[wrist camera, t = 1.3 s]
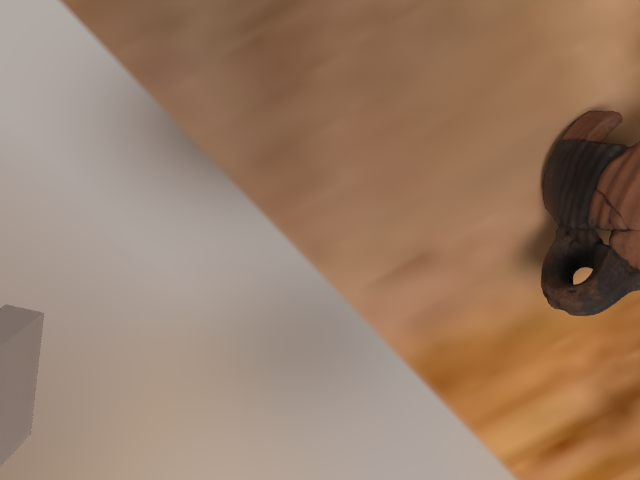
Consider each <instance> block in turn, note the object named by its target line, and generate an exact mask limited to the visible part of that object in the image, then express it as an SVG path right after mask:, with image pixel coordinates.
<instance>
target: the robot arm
mask: <svg viewBox="0 0 640 480" xmlns="http://www.w3.org/2000/svg"><path fill="white" fill-rule="evenodd" d="M43 318H44V313H42V312H37V311H33V310H28V309H24V308H20V307H15V306H11V305H4V306H3V307H1V308H0V467H1V466H2V465H3V464H4V463H5V462H6V460H7V459H8V458H9V457H10V456H11V455H12V454H13V453H14V452H15V451H16V449H17V448H18V447H19V446H20V445H21V444H22V443H23V442H24V441H25V440H26V438H27V437H28V436H29V435H30V434H31V428H32V419H33V409H34V400H35V391H36V382H37V373H38V363H39V355H40V346H41V337H42V336H41V335H42V328H43Z"/></svg>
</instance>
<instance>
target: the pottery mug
mask: <svg viewBox="0 0 640 480" xmlns="http://www.w3.org/2000/svg"><path fill="white" fill-rule="evenodd" d="M622 120H623V118H622V115H621V114H620V113H618V112H614V111H608V112H604V111H598V112H597V111H590V112H587V113H586V114H585V115H583V116H582V117H580V118H579V119H578V120H577V121H576V122H575V123H574V124H573V125H572V126H571V127H570V128H569V129H568V131H567V132H566V133H565V135H564V136H563V137H562V140H561V141H560V142H559V143H558V144H557V146H556V148H555V150H554V152H553V154H552V156H551V157H550V159H549V162H548V166H547V170H546V172H545V175H544V181H543V191H544V192H543V195H544V204H545V208H546V209H547V210H548V211H549V212H550V213H551V214H552V216H553V217H554V219H555V221H557V222H558V225H559V226H560V228H559V229H558V230H557V231H556V239H555V241H554V243H553V245H552V246H551V248H550V250H549V251H548V253H547V255H546V257H545V259H544V262H543V266H542V275H541V287H542V290H543V294H544V296H545V297H546V298H547V300H548V303H549V304H550V305H551V307H553V308H555V309H560V310H564V311H567V312H568V313H569V314H571V315H575V316H589V315H595V314H598V313H600V312H602V311H604V310H606V309H607V308H609V307H610V306H612V305H613V304H615V303H616V302H617V301H618V300H620V299H621V298H622V297H624V296H625V295H626V294H628V293H630V292H632V291H637V290H640V141H639V142H638V143H636V144H634V145H633V146H632V147H630V148H628V147H627V146H626V145H619V144H605V143H601V142H602V141H603V140H604V138H605V137H606V136H607V135H608V134H609V133H610V132H611V131H612V130H613V129H614V128H615V127H616V126H617V125H619V124H620V123H621V122H622ZM595 229H601V230H611V231H612V232H611V235H610V238H609V245H605V244H604V243H603V241H602V239H601V238H600V237H599V236H598V234H597V233H596V232H595ZM583 267H589V268H592V269H593V271H592V273H591V275H590V276H589V277H588V278H587V279H586V280H585V281H583V282H582V283H580V284H576V285H573V276H574V273H575V272H576V271H577V270H578V269H580V268H583Z"/></svg>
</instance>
